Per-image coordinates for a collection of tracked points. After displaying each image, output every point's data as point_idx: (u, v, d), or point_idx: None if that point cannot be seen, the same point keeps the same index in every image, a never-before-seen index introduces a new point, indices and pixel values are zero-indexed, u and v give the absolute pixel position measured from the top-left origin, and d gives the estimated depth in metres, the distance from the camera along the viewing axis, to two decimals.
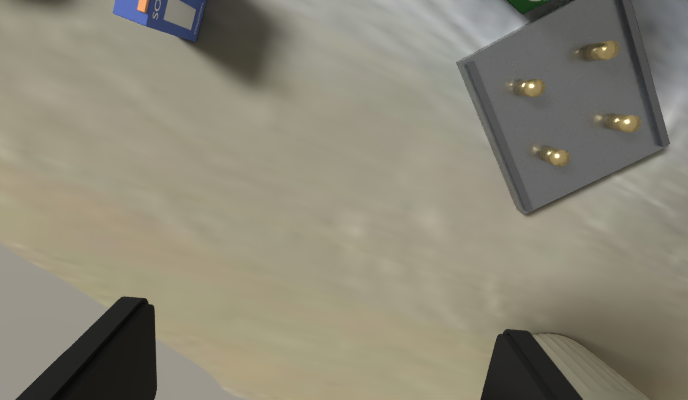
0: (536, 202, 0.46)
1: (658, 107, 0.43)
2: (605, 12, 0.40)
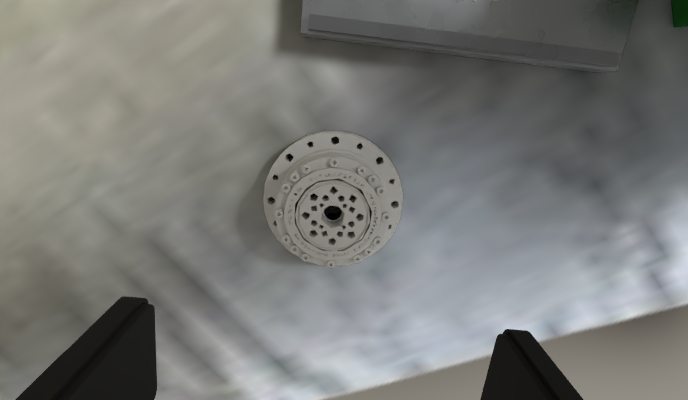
0: None
1: (387, 35, 0.23)
2: (588, 23, 0.23)
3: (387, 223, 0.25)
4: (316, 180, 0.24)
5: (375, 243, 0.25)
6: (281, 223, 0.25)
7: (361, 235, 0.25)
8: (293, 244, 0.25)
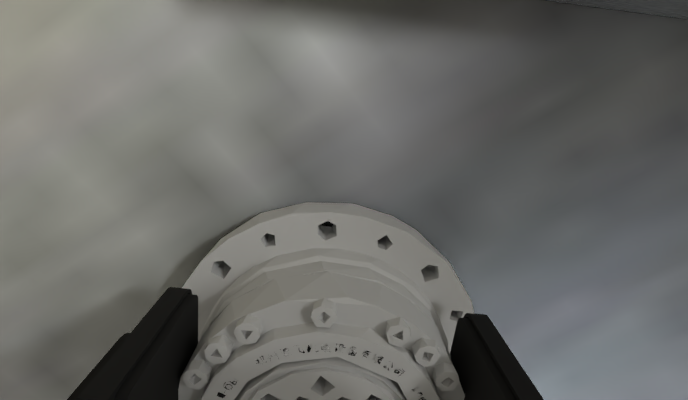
0: None
1: None
2: None
3: None
4: (275, 362, 0.09)
5: None
6: None
7: None
8: None
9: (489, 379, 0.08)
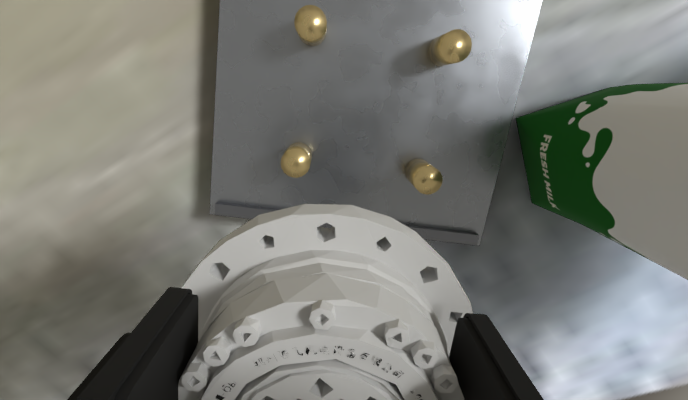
0: None
1: None
2: (453, 209, 0.28)
3: None
4: (274, 364, 0.09)
5: None
6: None
7: None
8: None
9: (489, 379, 0.08)
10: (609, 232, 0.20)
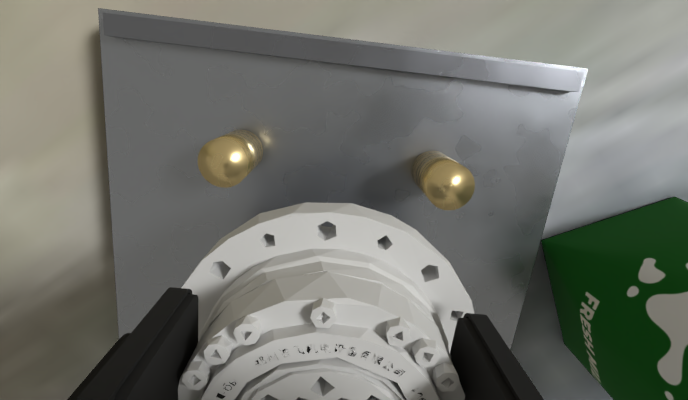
0: (120, 60, 0.15)
1: None
2: None
3: None
4: (275, 363, 0.09)
5: None
6: None
7: None
8: None
9: (489, 379, 0.08)
10: None
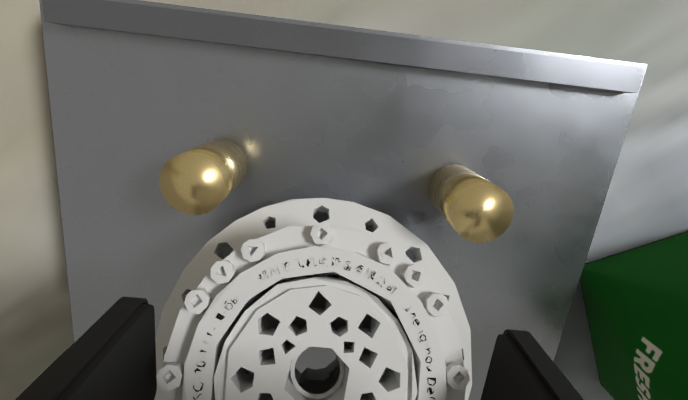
0: (68, 53, 0.12)
1: None
2: None
3: (460, 397, 0.10)
4: (276, 278, 0.09)
5: None
6: None
7: None
8: None
9: None
10: None
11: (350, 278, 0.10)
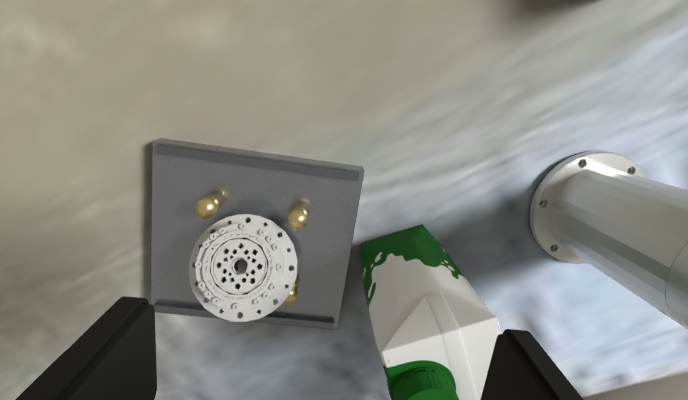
0: (160, 161, 0.36)
1: (199, 315, 0.40)
2: (316, 306, 0.41)
3: (281, 273, 0.33)
4: (228, 238, 0.33)
5: (271, 288, 0.33)
6: (199, 273, 0.33)
7: (260, 281, 0.33)
8: (207, 290, 0.32)
9: None
10: None
11: (250, 239, 0.33)
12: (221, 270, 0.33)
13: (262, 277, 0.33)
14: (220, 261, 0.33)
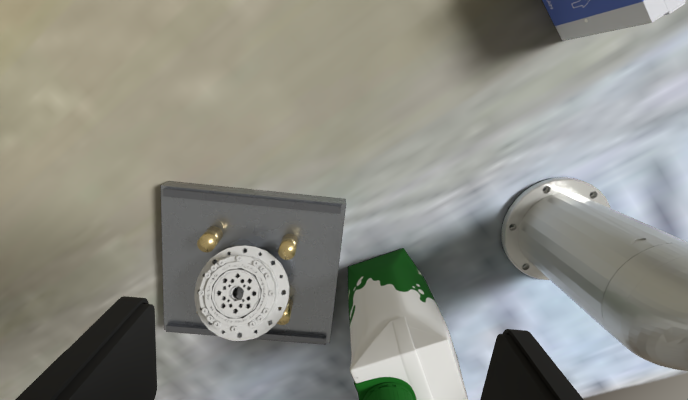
0: (168, 202, 0.41)
1: (206, 333, 0.45)
2: (310, 323, 0.46)
3: (273, 298, 0.38)
4: (227, 269, 0.38)
5: (264, 312, 0.38)
6: (202, 300, 0.38)
7: (254, 306, 0.38)
8: (209, 315, 0.38)
9: None
10: None
11: (245, 269, 0.38)
12: (221, 297, 0.38)
13: (256, 302, 0.38)
14: (220, 289, 0.38)
